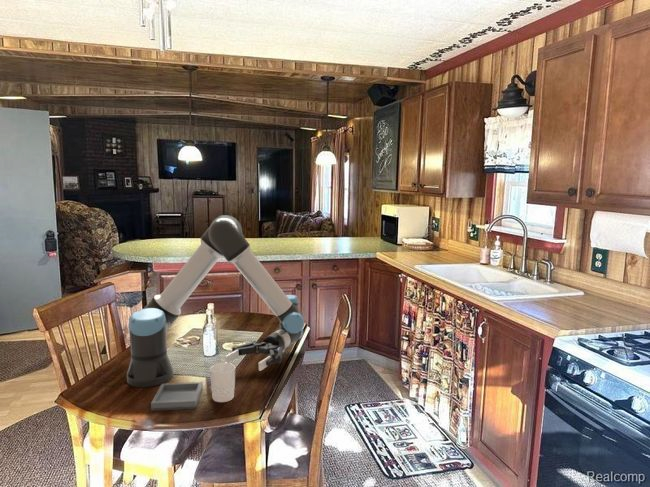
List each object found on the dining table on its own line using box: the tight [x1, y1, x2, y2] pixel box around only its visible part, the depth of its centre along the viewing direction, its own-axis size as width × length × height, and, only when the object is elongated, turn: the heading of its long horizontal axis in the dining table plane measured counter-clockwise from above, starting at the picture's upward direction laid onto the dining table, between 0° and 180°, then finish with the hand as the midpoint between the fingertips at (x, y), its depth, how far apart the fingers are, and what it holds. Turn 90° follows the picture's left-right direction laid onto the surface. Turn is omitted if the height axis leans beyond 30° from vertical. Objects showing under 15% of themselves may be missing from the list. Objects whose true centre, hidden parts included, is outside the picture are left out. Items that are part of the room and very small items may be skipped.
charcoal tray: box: [150, 381, 204, 412], centre depth 142 cm, size 13×13×2 cm
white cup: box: [209, 362, 236, 403], centre depth 143 cm, size 8×8×10 cm
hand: (242, 363), depth 152 cm, fingers open, 13 cm apart
